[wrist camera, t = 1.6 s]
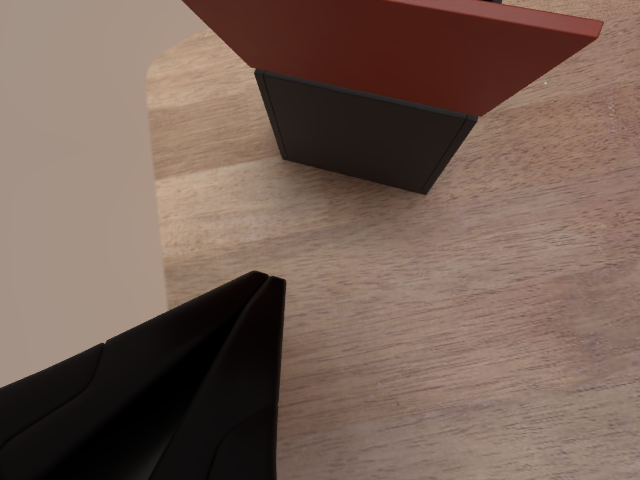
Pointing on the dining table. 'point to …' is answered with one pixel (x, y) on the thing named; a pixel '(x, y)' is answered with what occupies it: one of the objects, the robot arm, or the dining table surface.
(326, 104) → the black flip box
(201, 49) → the dining table surface
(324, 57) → the lid
